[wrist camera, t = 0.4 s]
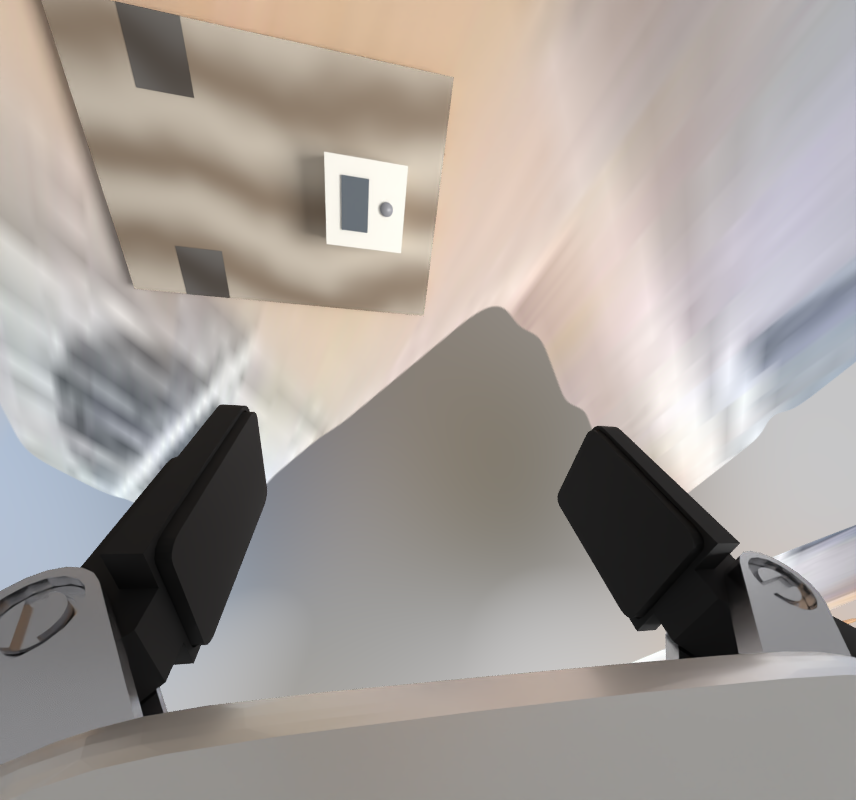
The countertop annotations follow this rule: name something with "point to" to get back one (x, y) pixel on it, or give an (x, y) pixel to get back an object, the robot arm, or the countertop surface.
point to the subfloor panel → (248, 155)
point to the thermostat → (364, 202)
